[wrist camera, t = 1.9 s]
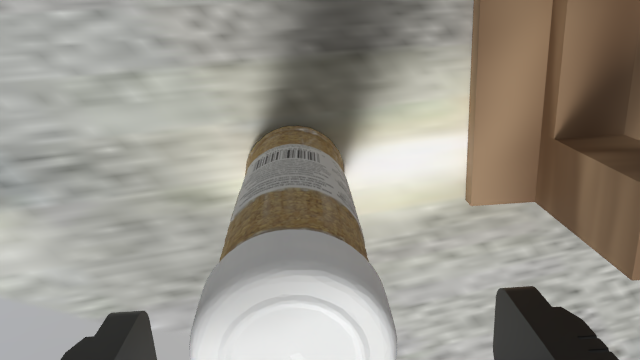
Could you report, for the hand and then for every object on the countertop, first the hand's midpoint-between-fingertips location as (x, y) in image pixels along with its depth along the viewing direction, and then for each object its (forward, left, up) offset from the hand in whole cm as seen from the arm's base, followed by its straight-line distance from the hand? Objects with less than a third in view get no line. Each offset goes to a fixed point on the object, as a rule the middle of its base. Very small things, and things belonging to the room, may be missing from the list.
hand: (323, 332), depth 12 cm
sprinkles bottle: (-1, 0, -13) cm, 13 cm away
